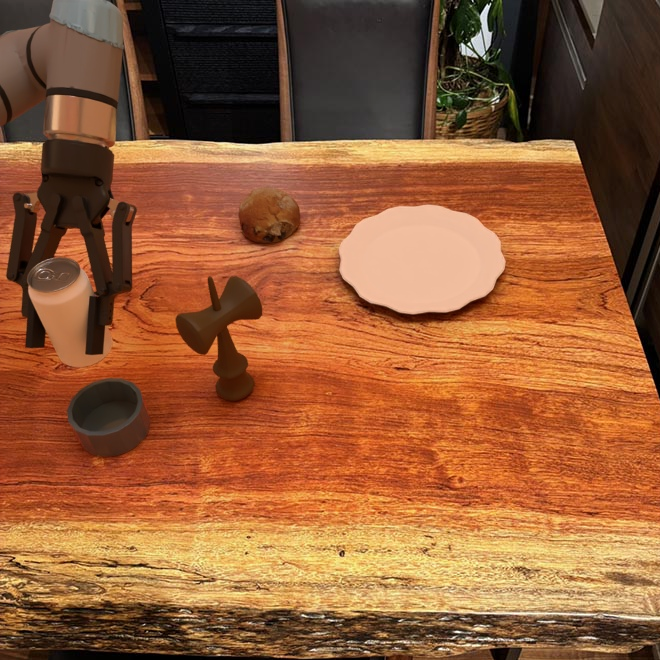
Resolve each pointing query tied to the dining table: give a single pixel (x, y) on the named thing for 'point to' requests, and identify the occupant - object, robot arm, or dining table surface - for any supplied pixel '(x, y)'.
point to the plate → (421, 259)
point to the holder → (109, 417)
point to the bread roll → (268, 215)
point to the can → (65, 309)
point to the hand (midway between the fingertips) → (64, 350)
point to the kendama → (223, 334)
